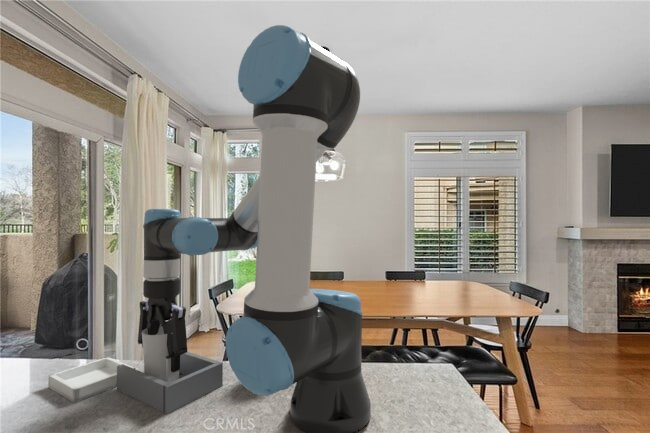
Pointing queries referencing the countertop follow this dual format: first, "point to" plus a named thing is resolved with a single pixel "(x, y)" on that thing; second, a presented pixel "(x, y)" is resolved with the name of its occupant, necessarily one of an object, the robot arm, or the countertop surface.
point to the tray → (86, 379)
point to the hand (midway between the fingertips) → (161, 380)
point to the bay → (172, 383)
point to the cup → (155, 353)
